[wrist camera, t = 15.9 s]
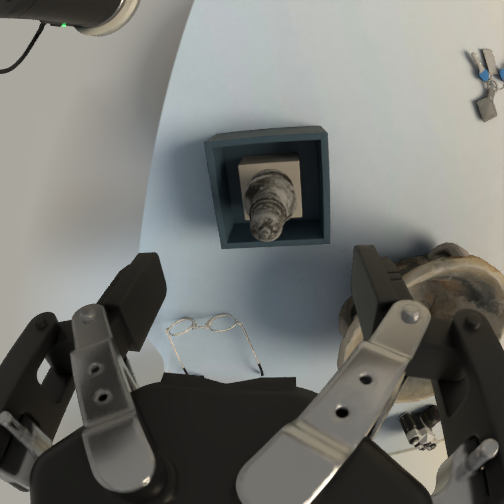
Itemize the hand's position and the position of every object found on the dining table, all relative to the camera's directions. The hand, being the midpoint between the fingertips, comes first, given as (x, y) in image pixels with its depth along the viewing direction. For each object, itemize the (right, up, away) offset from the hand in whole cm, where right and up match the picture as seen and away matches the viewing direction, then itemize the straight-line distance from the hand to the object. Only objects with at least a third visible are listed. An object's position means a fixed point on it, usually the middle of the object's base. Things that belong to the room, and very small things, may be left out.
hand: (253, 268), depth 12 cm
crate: (+3, +11, +29) cm, 31 cm away
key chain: (+34, +26, +16) cm, 46 cm away
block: (+3, +10, +28) cm, 30 cm away
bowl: (+26, -5, +35) cm, 44 cm away
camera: (+48, -44, +55) cm, 85 cm away
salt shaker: (+2, +8, +24) cm, 25 cm away
